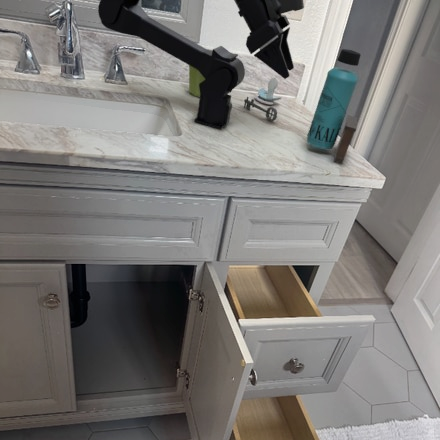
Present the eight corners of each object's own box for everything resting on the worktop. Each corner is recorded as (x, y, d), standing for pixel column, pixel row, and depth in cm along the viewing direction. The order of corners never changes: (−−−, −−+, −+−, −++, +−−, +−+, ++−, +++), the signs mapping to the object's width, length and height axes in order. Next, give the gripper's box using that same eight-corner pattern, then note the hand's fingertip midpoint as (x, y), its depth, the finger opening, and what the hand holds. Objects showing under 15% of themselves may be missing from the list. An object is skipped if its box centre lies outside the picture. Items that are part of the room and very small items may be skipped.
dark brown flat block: (332, 162, 90) (345, 125, 85) (335, 149, 97) (347, 115, 92) (342, 164, 90) (356, 128, 85) (344, 151, 97) (357, 117, 92)
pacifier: (266, 107, 114) (282, 106, 117) (272, 82, 110) (288, 81, 113) (249, 98, 118) (264, 97, 121) (253, 74, 114) (269, 73, 117)
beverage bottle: (312, 142, 98) (343, 45, 85) (337, 153, 95) (373, 54, 82) (298, 147, 93) (328, 45, 81) (323, 159, 91) (359, 55, 78)
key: (276, 124, 103) (279, 110, 101) (273, 124, 103) (277, 110, 101) (244, 107, 110) (247, 93, 108) (241, 107, 109) (244, 93, 107)
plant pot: (186, 86, 115) (190, 50, 109) (220, 94, 115) (226, 59, 110) (179, 94, 108) (183, 57, 102) (215, 103, 108) (221, 66, 102)
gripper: (281, -36, 69) (324, 56, 75) (292, -34, 83) (327, 42, 89) (225, 10, 74) (270, 91, 80) (245, 4, 89) (281, 73, 95)
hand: (289, 73), depth 86 cm, fingers open, 9 cm apart
